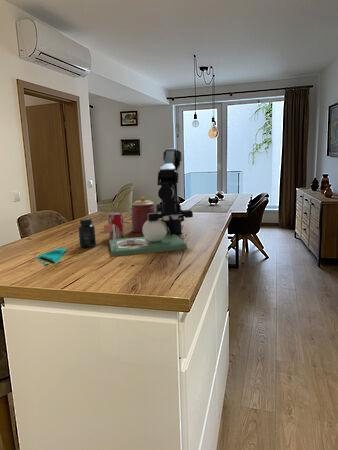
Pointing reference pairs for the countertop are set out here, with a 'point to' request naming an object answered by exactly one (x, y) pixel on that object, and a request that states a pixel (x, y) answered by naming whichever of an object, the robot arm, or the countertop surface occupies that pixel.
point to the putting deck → (143, 244)
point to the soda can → (116, 225)
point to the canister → (141, 213)
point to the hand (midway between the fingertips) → (171, 235)
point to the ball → (154, 230)
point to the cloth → (52, 255)
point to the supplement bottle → (86, 234)
